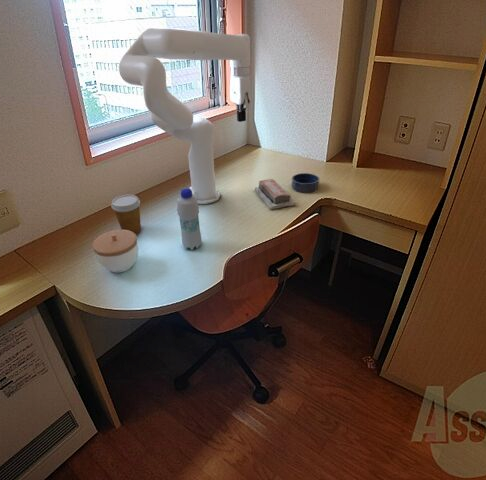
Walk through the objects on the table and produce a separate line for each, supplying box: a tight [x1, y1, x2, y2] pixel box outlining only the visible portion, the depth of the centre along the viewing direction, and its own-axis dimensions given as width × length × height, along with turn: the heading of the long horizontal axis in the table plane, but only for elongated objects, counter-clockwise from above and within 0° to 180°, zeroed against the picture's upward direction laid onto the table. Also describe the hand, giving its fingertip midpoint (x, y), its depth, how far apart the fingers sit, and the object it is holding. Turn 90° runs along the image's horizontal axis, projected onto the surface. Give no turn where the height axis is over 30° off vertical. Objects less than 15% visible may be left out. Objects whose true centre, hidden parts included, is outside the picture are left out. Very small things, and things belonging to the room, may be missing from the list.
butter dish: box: [254, 178, 296, 211], centre depth 140 cm, size 18×5×10 cm
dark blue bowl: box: [291, 172, 320, 194], centre depth 147 cm, size 11×11×4 cm
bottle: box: [176, 188, 203, 251], centre depth 110 cm, size 7×7×20 cm
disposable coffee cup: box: [110, 194, 142, 235], centre depth 122 cm, size 10×10×12 cm
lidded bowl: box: [92, 229, 139, 274], centre depth 106 cm, size 13×13×11 cm
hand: (241, 120), depth 146 cm, fingers closed
